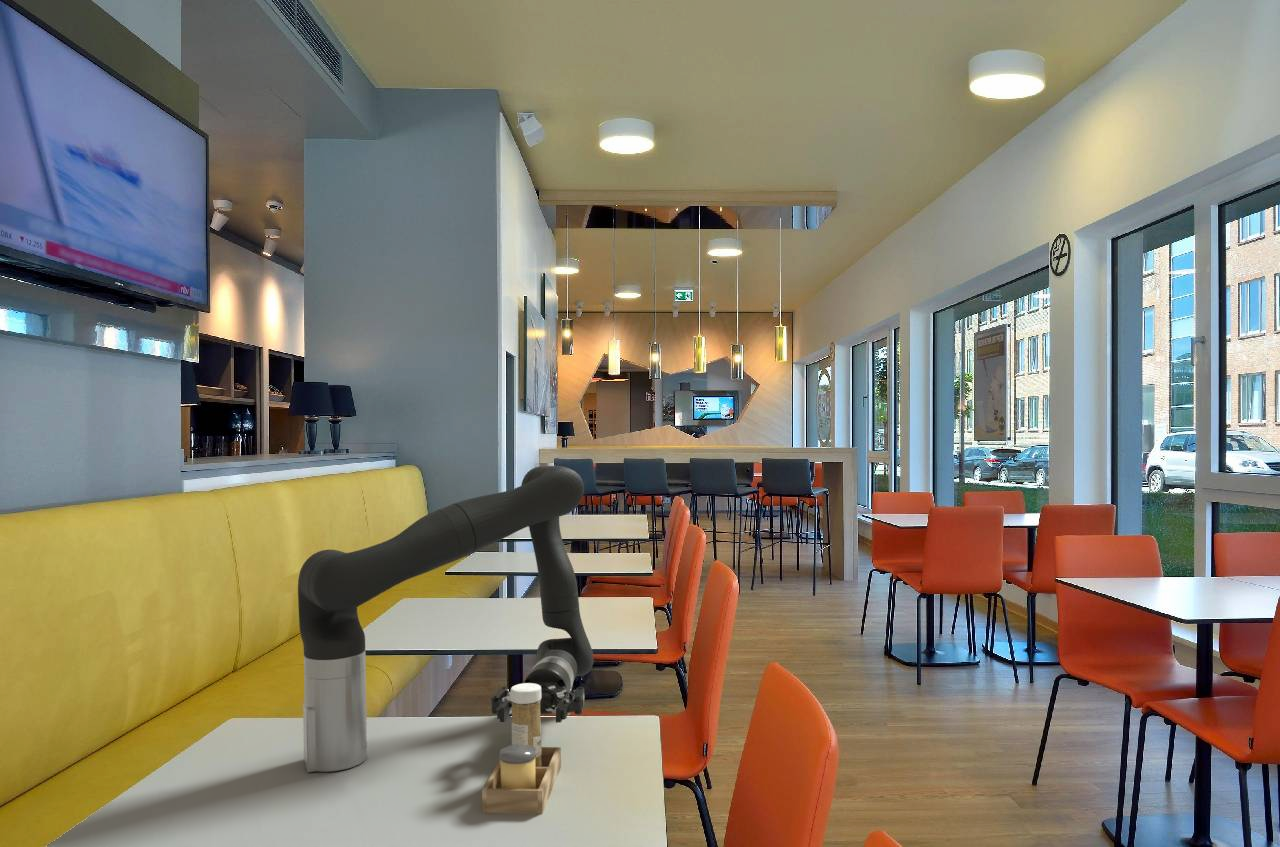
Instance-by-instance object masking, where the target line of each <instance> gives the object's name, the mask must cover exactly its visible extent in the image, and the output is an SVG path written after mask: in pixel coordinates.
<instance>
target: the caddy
mask: <svg viewBox="0 0 1280 847" xmlns="http://www.w3.org/2000/svg"><path fill="white" fill-rule="evenodd" d="M541 747H542V753H541V762H542V767H535V771H536V789H501V760H500V759H499V761H498V762H497V763H496V766H495V768H494V769H493V771H492V772H491V774H490V775H489V777H488V780H487V781H486V782H485V785H484V786H483V787H482V790H481V801H482V802H481V811H482V814H528V815H529V814H533V815H534V814H535V815H536V814H538V815H541V814H542V815H543V813H544V811H545V808H546V806H547V804H548V800H549V798H550V795H551V793H552V791H553V789H554V786H555V784H556V781H557V778H558V776H559V774H560V771H561V768H562V750H561V747H560V746H558V747H557V746H556V747H555V746H553V747H552V746H545V747H544V746H541Z"/></svg>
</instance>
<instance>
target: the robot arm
mask: <svg viewBox="0 0 1280 847" xmlns="http://www.w3.org/2000/svg"><path fill="white" fill-rule="evenodd" d="M584 495H585V483H584V481H583V479H582V477H581V475H580V474H578V473H577V471H575V470H574V469H571V468H569V467H567V466H561V465H544V466H543V465H541V466H534V468H531V469H530V470H529V471H527V473H525V475H524V477H523V479H522V481H521V485H520V486H518V487H516V488H513V489H509V490H506V491H501V492H496V493H491V494H486V495H480V496H476V497H472V498H468V499H464V500H460V501H457V502H455V503H451V504H449V505H447V506H444V507H441V508H439V509H436V510H434V511H432V512H430V513H427V514H425V515H423V516H422V517H420V518H419V519H417V520H416V521H414V522H413V523H411V524H410V525H409V526H408V527H406V528H405V529H404V530H403V531H401V532H400V533H399V534H397V535H395V536H394V537H392V538H390V539H388V540H386V541H382V542H380V543H377V544H375V545H372V546H369V547H365V548H361V549H358V550H354V551H350V552H344V551H341V550H338V549H322V550H319V551H316V552H315V553H313V554H312V555H310V556H309V557H308V558H307V559H306V560H305V562H304V563H303V564H302V566H301V568H300V571H299V575H298V580H297V600H298V602H297V603H298V604H297V605H298V618H299V619H298V622H299V623H298V624H299V626H298V627H299V633H300V639H301V641H302V646H303V680H304V681H303V682H304V683H303V688H304V692H303V693H304V699H303V702H302V710H303V711H302V713H303V714H302V716H303V717H302V721H303V723H302V724H303V727H302V728H303V761H304V764H305V768H306V772H307V773H313V772H322V773H323V772H324V773H326V772H327V773H329V772H337V771H342V770H347V769H350V768H353V767H357V766H359V765H361V764H362V763H363V762H365V761H366V759H367V758H368V736H367V734H368V732H367V731H368V730H367V724H368V723H367V677H366V676H367V674H366V673H367V671H366V664H367V663H366V634H365V632H364V629H363V627H362V625H361V622H360V619H359V615H358V607H359V606H361V605H364V604H365V603H367V602H368V601H371V600H372V599H374V598H376V597H377V596H380V595H381V594H383V593H384V592H386V591H388V590H390V589H392V588H394V587H395V586H398V585H399V584H401V583H403V582H405V581H408V580H410V579H413V578H416V577H418V576H421V575H424V574H426V573H428V572H429V573H430V572H431V571H434V570H436V569H439V568H441V567H443V566H446V565H448V564H451V563H453V562H456V561H458V560H460V559H463V558H464V557H467V556H470V555H472V554H474V553H476V552H478V551H480V550H483V549H484V548H486V547H488V546H491V545H492V544H495V543H497V542H499V541H502V540H503V539H506V538H507V537H509V536H511V535H512V534H514V533H517V532H518V531H521V530H523V529H525V528H528V529H529V534H530V537H531V538H530V539H531V542H532V547H533V552H534V555H535V556H534V558H535V562H536V567H537V574H538V581H539V583H538V584H539V593H540V605H541V607H540V608H541V616H542V622H543V624H544V625H545V626H546V627H548V628H552V629H557V630H563V631H564V632H566V633H567V634H568V635H569V636H570V637H563V638H561V637H560V638H549V639H546V640H544V641H542V642H540V644H539V645H538V647H537V651H536V664H534V666H533V667H532V669H531V670H530V672H529V673H528V674H527V676H526V678H525V679H524V681H523V683H534V684H538V685H540V686H541V702H540V715H550V714H555V722H556V723H557V724H558V723H562V722H563V720H566V719H567V718H568V716H570V715H571V713H572V712H573V714H575V715H581V714H583V711H584V706H585V687H583V686H578V687H576V689H573V686H574V685H573V684H574V681H575V679H576V677H581V676H586V675H587V674H588V673H589V672H590V671H591V669H592V668H593V664H594V653H593V649H592V645H591V642H590V640H589V638H588V635H587V633H586V631H585V630H586V629H585V628H584V624H583V621H582V618H581V617H582V616H581V612H580V602H579V590H578V581H577V577H576V574H575V571H574V568H573V565H572V563H571V560H570V558H569V555H568V552H567V550H566V548H565V545H564V541H563V537H562V534H561V533H562V532H561V526H560V517H562V516H566V515H568V514H570V513H572V512H574V510H576V508H578V506H579V505H580V503H581V502H582V500H583V497H584ZM508 688H509V687H508V686H501V687H499V688H498V690H497V691H496V692H494V694H492V696H491V701H490V702H491V713H492V714H494V715H496V719H497V720H499V722H500V723H506V721H507V720H508V718H509V717H510V715H512V706H511V705H510V704H511V702H512V701H511V698H510V693H511V691H509V689H508ZM572 689H573V691H572ZM510 706H511V707H510Z"/></svg>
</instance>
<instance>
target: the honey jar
mask: <svg viewBox="0 0 1280 847" xmlns="http://www.w3.org/2000/svg"><path fill="white" fill-rule="evenodd" d="M535 757H536V749H535V747H533V746H530V745H524V744H518V745H512V744H511V745H508V746H505V747H503V748H501V749H500V751H499V761H500V760H501V789H536V771H535Z"/></svg>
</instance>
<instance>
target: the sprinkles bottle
mask: <svg viewBox="0 0 1280 847" xmlns="http://www.w3.org/2000/svg"><path fill="white" fill-rule="evenodd" d="M510 692H511V693H510V698H511V701H510V704H511V707H512V714H511V745H518V744H524V745H530V746H533V747H535V749H536V757H535V767H542V762H541V753H542V747H543V746H542V722H541V714H540V702H541V686H540V685H538V684H534V683H524V682H522V683H518V684H515V685H513V686H512V687H511V688H510Z"/></svg>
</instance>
